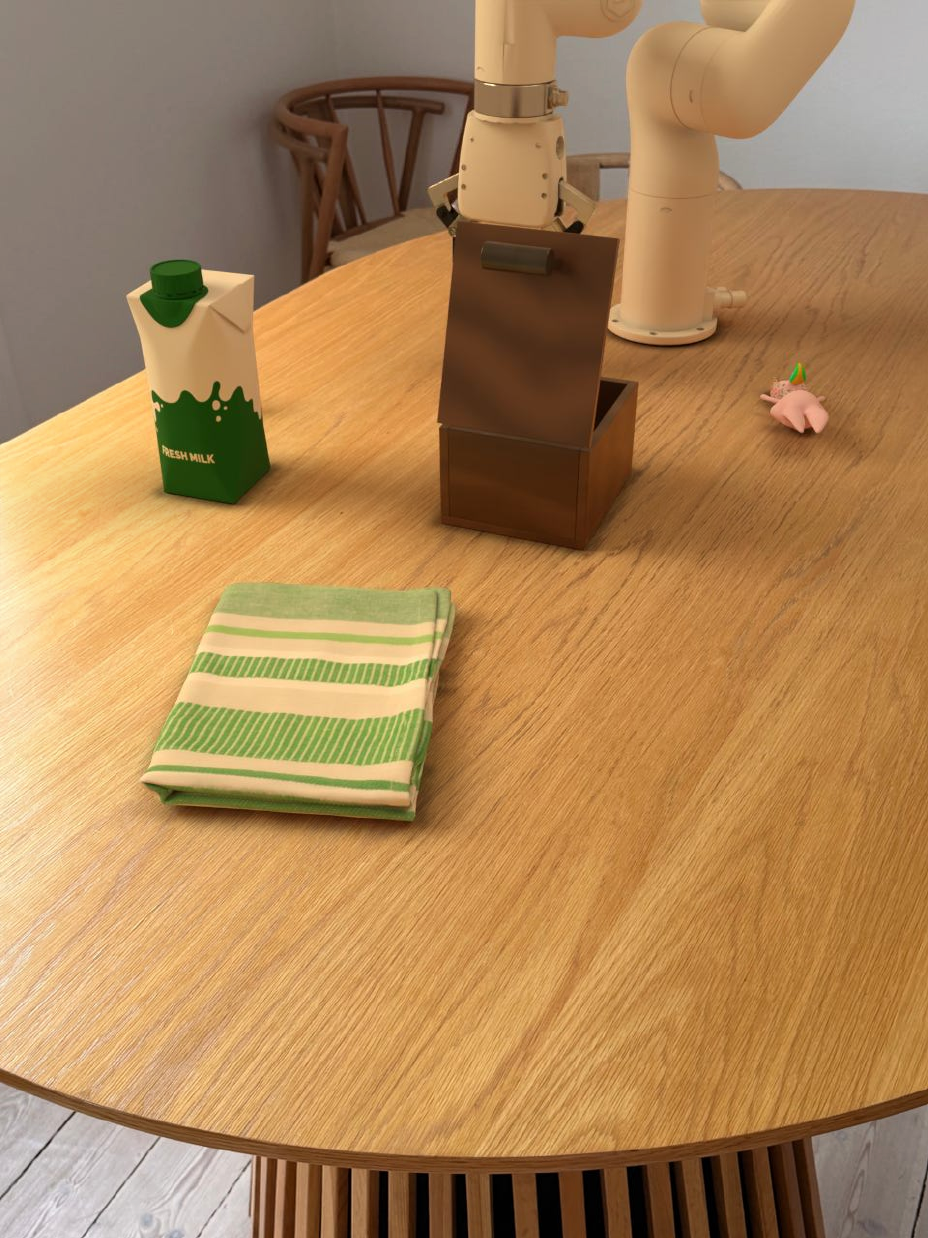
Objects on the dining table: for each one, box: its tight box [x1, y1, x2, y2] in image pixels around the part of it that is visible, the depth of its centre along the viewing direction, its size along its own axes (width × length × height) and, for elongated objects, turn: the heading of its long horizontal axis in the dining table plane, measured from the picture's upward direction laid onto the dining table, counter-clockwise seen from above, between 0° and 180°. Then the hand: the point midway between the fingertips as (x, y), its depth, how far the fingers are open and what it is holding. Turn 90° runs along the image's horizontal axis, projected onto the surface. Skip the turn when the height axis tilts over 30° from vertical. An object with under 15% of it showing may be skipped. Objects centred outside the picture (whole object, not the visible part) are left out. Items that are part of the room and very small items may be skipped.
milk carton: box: [126, 258, 272, 505], centre depth 103 cm, size 9×9×20 cm
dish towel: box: [139, 581, 457, 822], centre depth 81 cm, size 18×23×3 cm
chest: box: [438, 376, 639, 551], centre depth 103 cm, size 15×13×9 cm
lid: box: [436, 221, 621, 448], centre depth 91 cm, size 15×13×5 cm
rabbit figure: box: [759, 362, 830, 434], centre depth 116 cm, size 6×6×15 cm
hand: (508, 279), depth 124 cm, fingers open, 9 cm apart
